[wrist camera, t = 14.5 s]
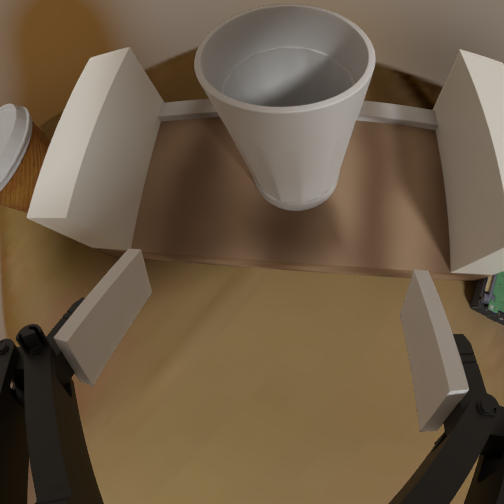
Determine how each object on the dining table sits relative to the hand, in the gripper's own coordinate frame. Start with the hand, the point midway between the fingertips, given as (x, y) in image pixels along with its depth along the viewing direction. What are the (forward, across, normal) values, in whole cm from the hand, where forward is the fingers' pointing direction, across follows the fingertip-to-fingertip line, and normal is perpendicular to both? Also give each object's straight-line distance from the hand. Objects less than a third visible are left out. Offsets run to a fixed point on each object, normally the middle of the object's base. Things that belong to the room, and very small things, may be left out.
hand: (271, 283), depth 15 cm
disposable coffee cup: (+13, -25, -1) cm, 28 cm away
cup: (+11, 0, +2) cm, 12 cm away
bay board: (+14, 0, 0) cm, 14 cm away
